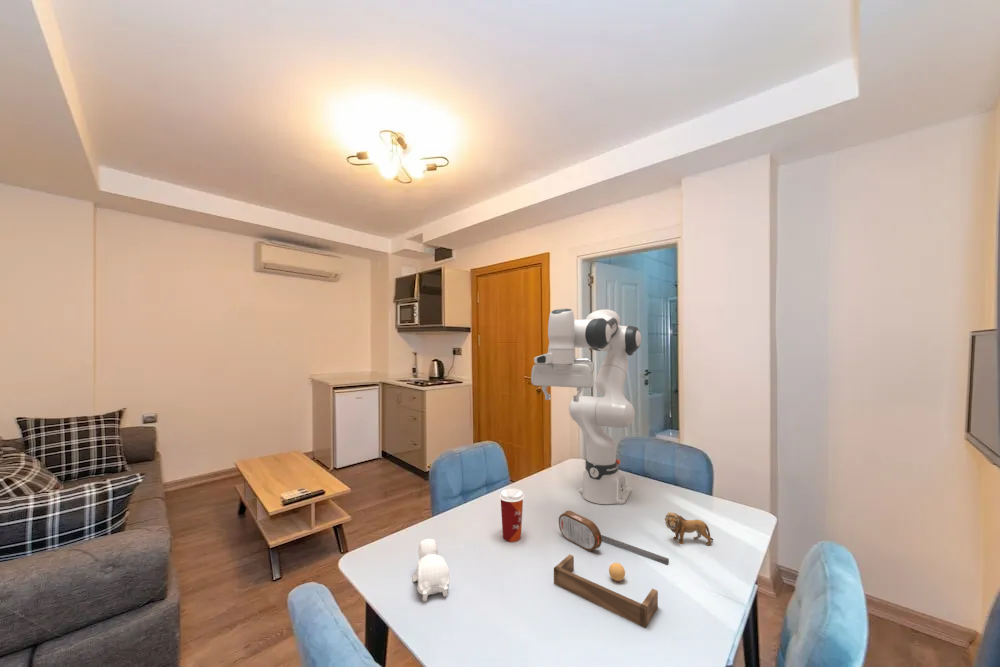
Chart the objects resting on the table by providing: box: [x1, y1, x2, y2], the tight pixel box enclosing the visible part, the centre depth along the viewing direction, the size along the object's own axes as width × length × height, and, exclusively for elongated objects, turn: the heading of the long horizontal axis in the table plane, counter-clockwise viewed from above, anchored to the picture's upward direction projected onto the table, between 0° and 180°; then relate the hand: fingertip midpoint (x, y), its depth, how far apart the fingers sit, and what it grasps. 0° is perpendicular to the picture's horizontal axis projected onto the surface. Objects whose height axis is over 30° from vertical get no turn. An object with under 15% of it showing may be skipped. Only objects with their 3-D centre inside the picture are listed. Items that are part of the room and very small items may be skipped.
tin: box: [558, 510, 603, 552], centre depth 117 cm, size 15×3×8 cm, turn 38°
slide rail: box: [601, 534, 670, 566], centre depth 117 cm, size 1×32×1 cm, turn 50°
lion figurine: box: [664, 511, 714, 547], centre depth 118 cm, size 15×5×9 cm, turn 92°
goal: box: [553, 554, 659, 629], centre depth 94 cm, size 8×23×4 cm, turn 50°
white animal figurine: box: [412, 538, 450, 603], centre depth 99 cm, size 8×8×15 cm
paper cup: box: [499, 488, 525, 543], centre depth 121 cm, size 8×8×14 cm
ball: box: [608, 562, 626, 582], centre depth 100 cm, size 4×4×4 cm
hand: (561, 400), depth 126 cm, fingers open, 8 cm apart
